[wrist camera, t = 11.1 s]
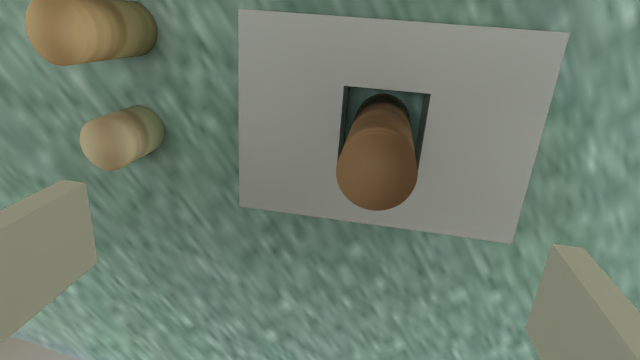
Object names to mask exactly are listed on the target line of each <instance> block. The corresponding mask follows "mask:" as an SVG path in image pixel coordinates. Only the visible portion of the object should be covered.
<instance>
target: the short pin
mask: <svg viewBox="0 0 640 360" xmlns="http://www.w3.org/2000/svg"><path fill="white" fill-rule="evenodd" d="M164 136H165V131H164V126H163V123H162V121H161V119H160V118H159V116H158V115H157V114H156V113H155V112H154V111H152V110H151V109H149V108H147V107H144V106H132V107H129V108H126V109H123V110H120V111H117V112H114V113H111V114H108V115H105V116H101V117H98V118H95V119H92V120H90V121H88V122H87V123H86V124H85V125H84V126H83V127H82V129H81V132H80V144H81V148H82V150H83V152H84V154H85V156H86V157H87V158H88V160H89V161H90V162H91V163H93V164H94V165H95V166H97V167H99V168H101V169H103V170H108V171H114V170H118V169H120V168H122V167H124V166H126V165H128V164H130V163H132V162H133V161H135V160H137V159H139V158H141V157H143V156H145V155H146V154H148V153H150V152H152V151H154V150H156V149H157V148H159V147H160V146H161V144H162V143H163V140H164Z"/></svg>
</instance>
